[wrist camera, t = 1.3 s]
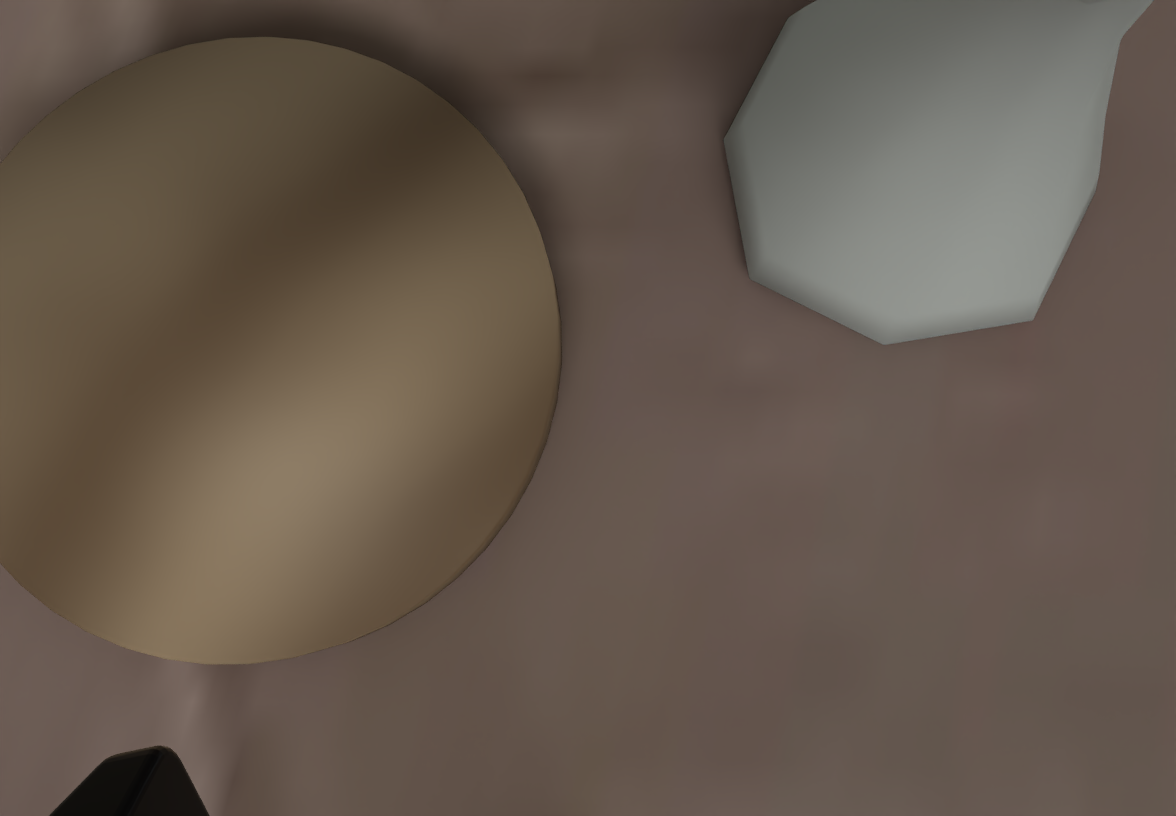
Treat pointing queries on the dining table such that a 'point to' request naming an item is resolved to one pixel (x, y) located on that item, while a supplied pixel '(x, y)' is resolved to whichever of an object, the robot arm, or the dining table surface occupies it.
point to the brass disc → (263, 351)
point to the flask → (924, 157)
